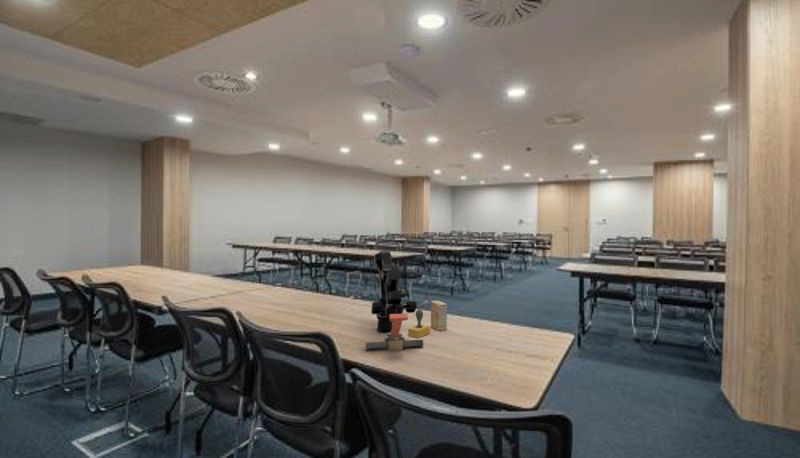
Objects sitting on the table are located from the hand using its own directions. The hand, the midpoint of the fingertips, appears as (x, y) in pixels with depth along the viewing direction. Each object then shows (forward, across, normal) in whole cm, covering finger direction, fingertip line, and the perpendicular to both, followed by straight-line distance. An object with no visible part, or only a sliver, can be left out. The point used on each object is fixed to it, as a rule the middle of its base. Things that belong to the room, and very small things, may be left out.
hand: (396, 325), depth 157 cm
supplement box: (-11, +26, +29) cm, 41 cm away
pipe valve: (+5, 0, +10) cm, 11 cm away
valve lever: (+1, 0, +6) cm, 6 cm away
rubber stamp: (-6, +15, +23) cm, 28 cm away
